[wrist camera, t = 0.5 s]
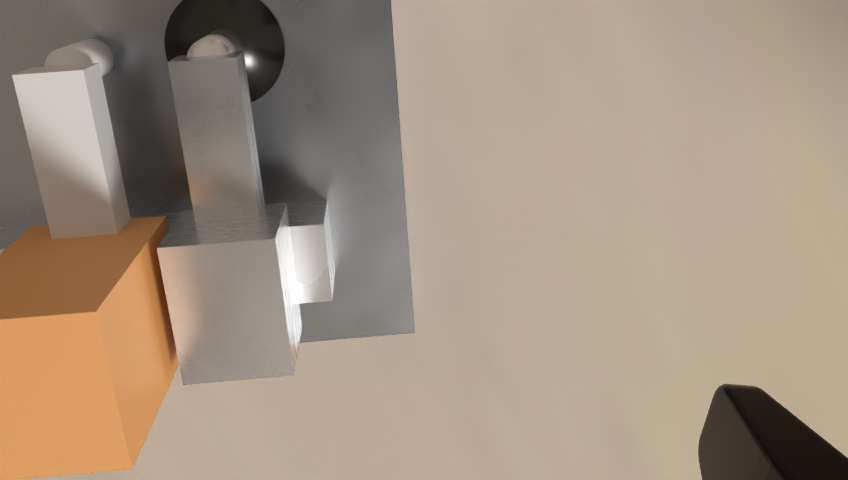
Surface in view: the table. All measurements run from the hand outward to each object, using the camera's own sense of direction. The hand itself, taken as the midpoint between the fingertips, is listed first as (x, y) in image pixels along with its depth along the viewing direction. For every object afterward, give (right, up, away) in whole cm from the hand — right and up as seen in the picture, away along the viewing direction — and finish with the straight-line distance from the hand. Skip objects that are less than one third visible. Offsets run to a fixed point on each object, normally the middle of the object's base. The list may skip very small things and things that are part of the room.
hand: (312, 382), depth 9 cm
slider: (-6, +3, +11) cm, 13 cm away
